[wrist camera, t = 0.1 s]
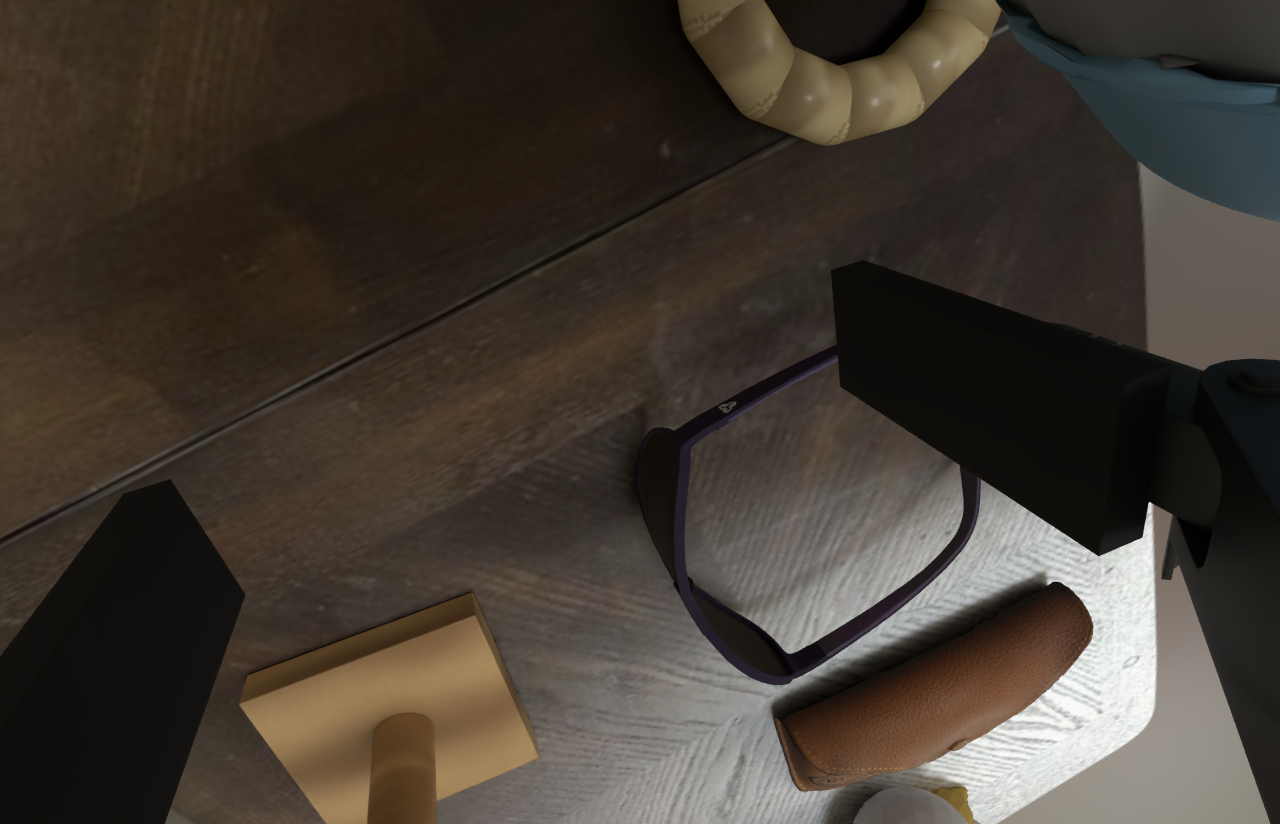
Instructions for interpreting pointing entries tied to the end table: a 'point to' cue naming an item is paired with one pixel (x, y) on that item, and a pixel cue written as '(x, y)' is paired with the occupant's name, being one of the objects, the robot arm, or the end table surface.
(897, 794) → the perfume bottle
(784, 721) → the sunglasses case
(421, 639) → the tape stand
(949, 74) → the segmented ring
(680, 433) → the sunglasses
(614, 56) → the end table surface
